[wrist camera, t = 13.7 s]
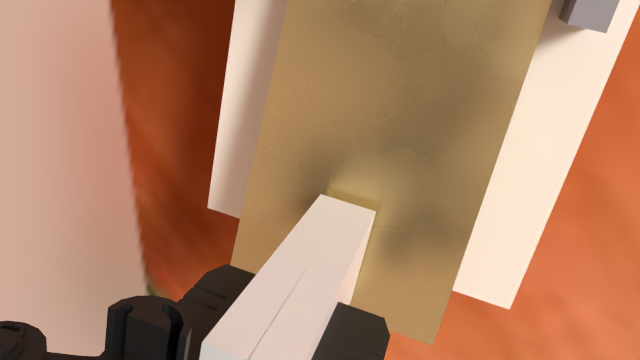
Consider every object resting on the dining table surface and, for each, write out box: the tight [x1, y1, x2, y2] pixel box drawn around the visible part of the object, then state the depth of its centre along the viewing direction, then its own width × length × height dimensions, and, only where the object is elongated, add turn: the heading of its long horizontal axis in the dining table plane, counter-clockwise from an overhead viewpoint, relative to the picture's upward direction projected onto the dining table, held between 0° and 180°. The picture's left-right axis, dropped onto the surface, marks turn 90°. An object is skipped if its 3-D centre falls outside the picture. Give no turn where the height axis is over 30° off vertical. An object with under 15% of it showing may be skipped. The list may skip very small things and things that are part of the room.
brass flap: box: [230, 0, 552, 346], centre depth 14 cm, size 10×6×1 cm, turn 168°
